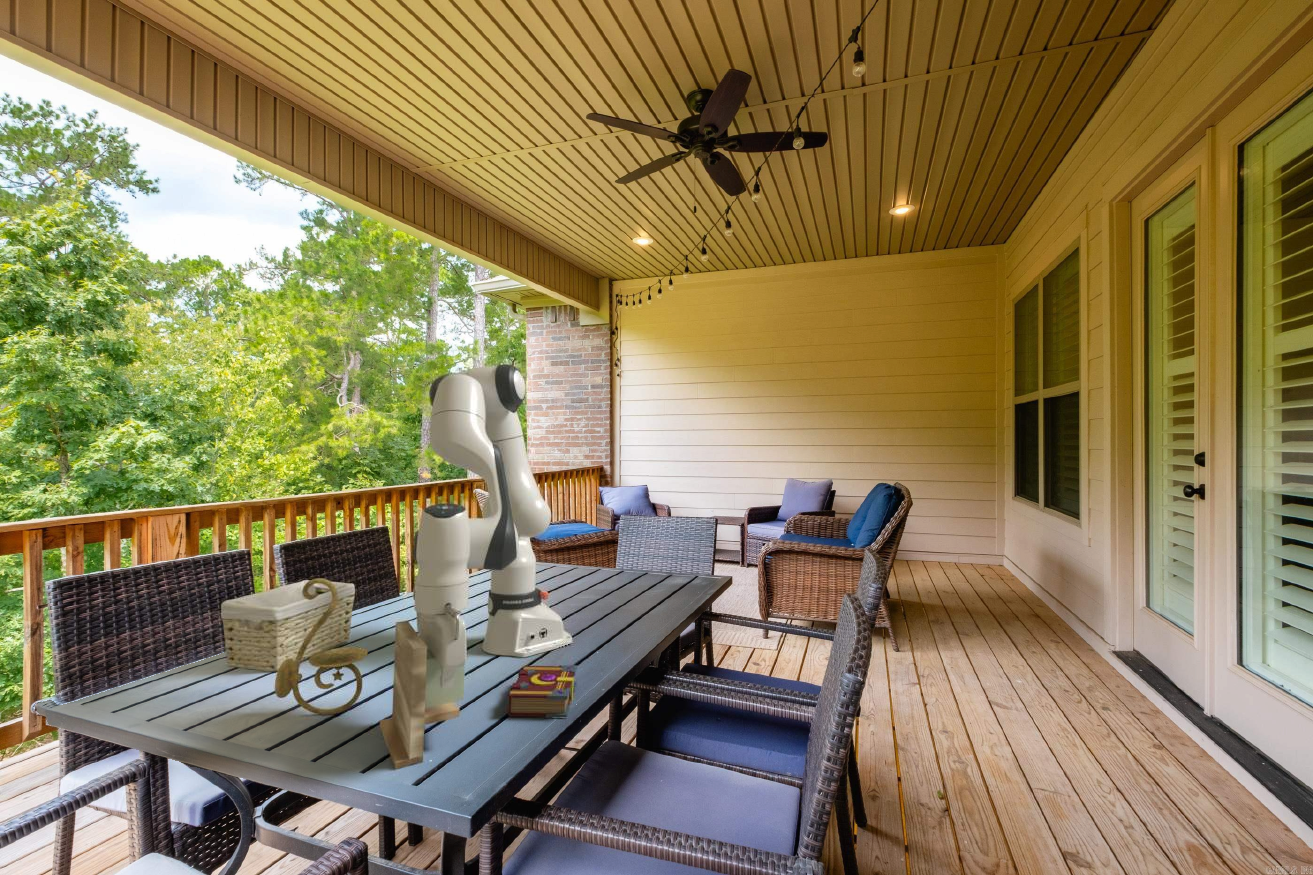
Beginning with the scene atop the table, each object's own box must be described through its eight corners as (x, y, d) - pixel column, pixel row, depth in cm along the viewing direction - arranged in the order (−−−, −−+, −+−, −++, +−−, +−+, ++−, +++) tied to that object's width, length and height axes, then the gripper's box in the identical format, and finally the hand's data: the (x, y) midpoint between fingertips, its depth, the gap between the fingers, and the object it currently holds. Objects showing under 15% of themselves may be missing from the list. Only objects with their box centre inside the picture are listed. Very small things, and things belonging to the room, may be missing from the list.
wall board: (438, 712, 105) (441, 615, 105) (461, 751, 92) (465, 640, 92) (379, 725, 99) (383, 623, 100) (395, 769, 86) (399, 651, 87)
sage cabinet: (460, 687, 102) (462, 631, 102) (469, 698, 98) (470, 640, 98) (413, 696, 98) (415, 639, 98) (420, 709, 93) (422, 648, 93)
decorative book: (505, 719, 103) (506, 691, 104) (524, 683, 120) (525, 659, 120) (567, 720, 104) (567, 692, 104) (577, 684, 120) (578, 660, 120)
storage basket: (274, 676, 120) (277, 607, 120) (213, 668, 123) (216, 601, 124) (356, 640, 143) (359, 582, 144) (303, 634, 147) (306, 578, 147)
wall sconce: (268, 728, 97) (274, 584, 98) (296, 704, 107) (301, 573, 108) (353, 725, 99) (358, 583, 100) (373, 701, 109) (377, 572, 109)
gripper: (477, 609, 91) (475, 695, 91) (446, 583, 108) (444, 656, 108) (437, 615, 87) (434, 704, 87) (411, 587, 104) (408, 662, 104)
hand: (439, 677), depth 97 cm, fingers open, 8 cm apart
